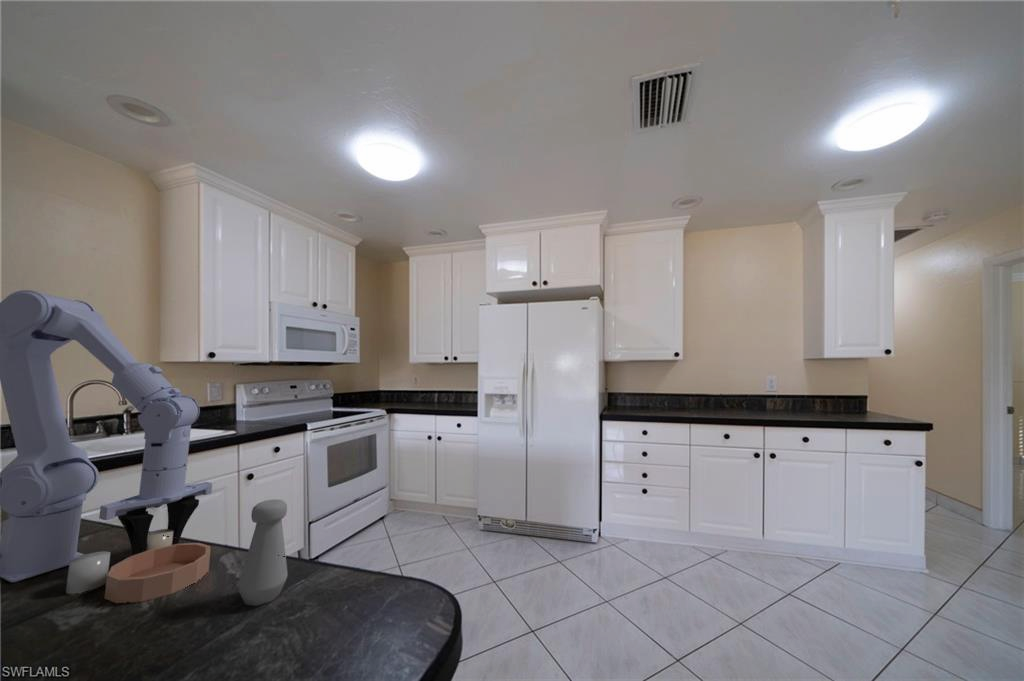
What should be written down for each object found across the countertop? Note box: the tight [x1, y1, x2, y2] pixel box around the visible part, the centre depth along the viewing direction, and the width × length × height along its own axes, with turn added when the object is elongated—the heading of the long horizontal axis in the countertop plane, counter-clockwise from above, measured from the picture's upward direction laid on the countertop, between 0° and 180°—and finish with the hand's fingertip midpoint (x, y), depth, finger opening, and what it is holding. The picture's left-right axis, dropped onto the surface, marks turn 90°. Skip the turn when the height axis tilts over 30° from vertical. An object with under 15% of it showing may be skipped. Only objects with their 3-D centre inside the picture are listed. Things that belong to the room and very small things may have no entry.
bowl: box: [104, 542, 211, 604], centre depth 56 cm, size 11×11×3 cm
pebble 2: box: [146, 528, 174, 551], centre depth 63 cm, size 4×4×4 cm
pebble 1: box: [65, 550, 111, 595], centre depth 54 cm, size 4×4×4 cm
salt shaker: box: [238, 498, 288, 607], centre depth 53 cm, size 6×6×13 cm
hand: (155, 549), depth 63 cm, fingers closed on pebble 2, 4 cm apart
